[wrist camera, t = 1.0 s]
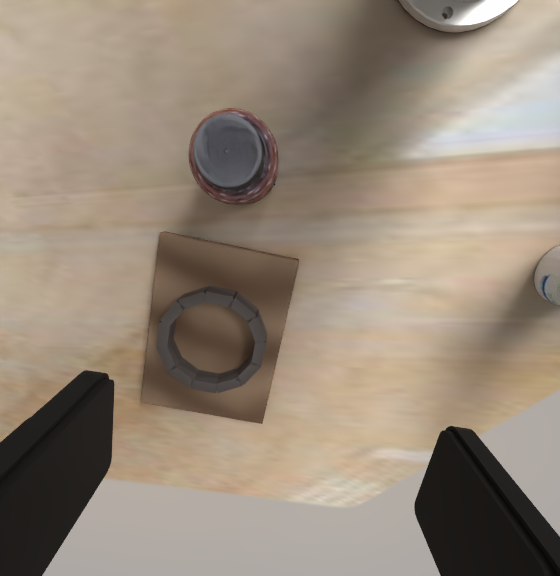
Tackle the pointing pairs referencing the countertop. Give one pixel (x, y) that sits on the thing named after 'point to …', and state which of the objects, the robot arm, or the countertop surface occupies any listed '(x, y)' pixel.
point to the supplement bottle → (234, 156)
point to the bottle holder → (215, 327)
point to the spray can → (549, 276)
